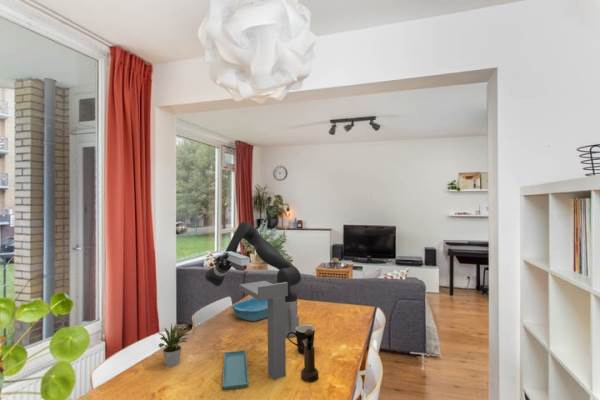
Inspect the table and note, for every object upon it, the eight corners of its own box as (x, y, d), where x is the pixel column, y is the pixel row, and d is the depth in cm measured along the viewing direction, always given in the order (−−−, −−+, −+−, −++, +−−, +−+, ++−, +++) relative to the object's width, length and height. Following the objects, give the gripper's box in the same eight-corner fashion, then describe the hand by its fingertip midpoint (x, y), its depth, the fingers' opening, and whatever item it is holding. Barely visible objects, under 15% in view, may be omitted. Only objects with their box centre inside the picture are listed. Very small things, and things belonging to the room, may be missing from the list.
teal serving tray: (248, 389, 114) (248, 382, 114) (222, 392, 112) (222, 385, 112) (245, 355, 139) (245, 350, 139) (224, 358, 137) (224, 352, 137)
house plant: (165, 378, 120) (165, 334, 121) (143, 368, 128) (143, 327, 128) (196, 362, 132) (195, 322, 133) (174, 354, 140) (174, 317, 140)
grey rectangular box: (223, 258, 162) (223, 251, 162) (231, 257, 164) (231, 251, 164) (241, 265, 141) (241, 258, 141) (249, 264, 143) (249, 257, 143)
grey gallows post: (239, 361, 133) (239, 277, 134) (265, 354, 139) (265, 273, 140) (260, 384, 116) (259, 287, 116) (289, 375, 122) (288, 282, 123)
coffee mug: (317, 348, 145) (317, 326, 145) (311, 357, 136) (311, 333, 137) (293, 345, 148) (293, 323, 149) (286, 353, 140) (286, 330, 140)
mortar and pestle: (300, 373, 123) (299, 326, 124) (316, 372, 124) (316, 325, 124) (301, 382, 117) (301, 333, 117) (319, 381, 117) (318, 332, 117)
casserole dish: (267, 302, 215) (267, 292, 215) (294, 308, 202) (294, 297, 202) (224, 318, 186) (224, 305, 186) (251, 326, 172) (251, 313, 172)
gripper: (208, 261, 167) (216, 248, 154) (234, 258, 174) (244, 245, 162) (210, 275, 163) (219, 262, 151) (236, 271, 171) (247, 259, 159)
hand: (232, 254), depth 157 cm, fingers closed on grey rectangular box, 4 cm apart
